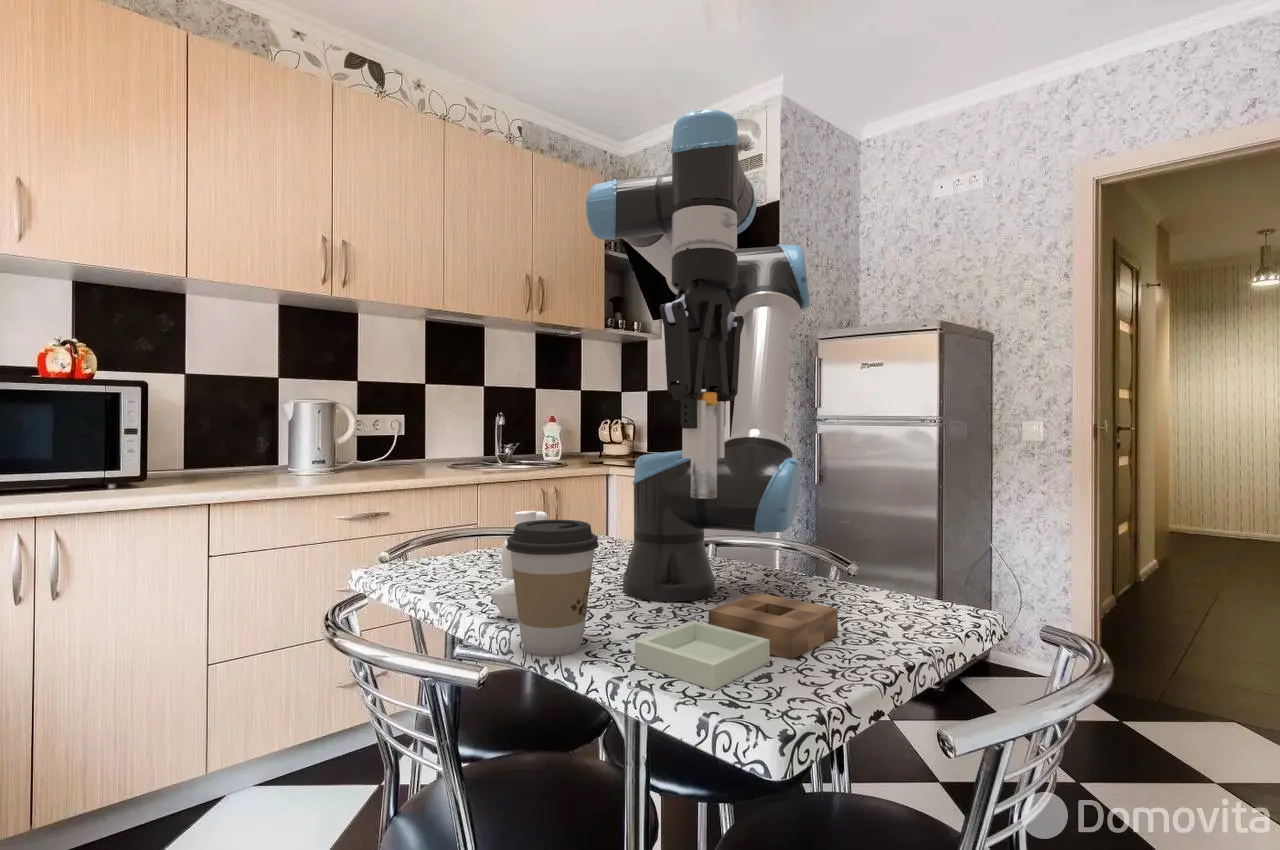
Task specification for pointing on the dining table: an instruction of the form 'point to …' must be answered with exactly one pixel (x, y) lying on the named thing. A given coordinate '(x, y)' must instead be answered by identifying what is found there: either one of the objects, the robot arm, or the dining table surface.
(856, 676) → the dining table surface
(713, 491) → the clear capped vial
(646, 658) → the tray
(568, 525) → the coffee cup
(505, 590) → the figurine
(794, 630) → the block
